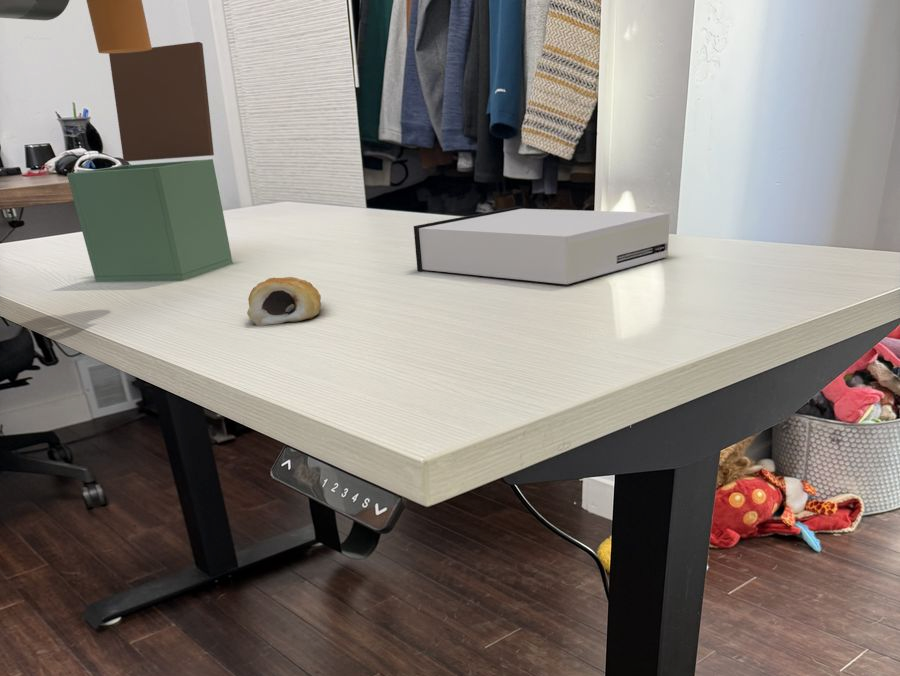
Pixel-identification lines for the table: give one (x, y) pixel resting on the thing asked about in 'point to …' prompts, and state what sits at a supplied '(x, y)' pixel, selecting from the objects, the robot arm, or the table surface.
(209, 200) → the bin
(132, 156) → the bin lid
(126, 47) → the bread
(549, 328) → the table surface
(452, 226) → the disc drive
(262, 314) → the pastry
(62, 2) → the robot arm
